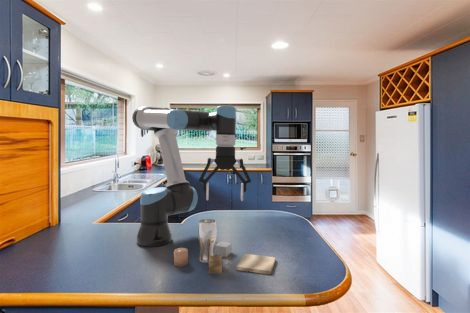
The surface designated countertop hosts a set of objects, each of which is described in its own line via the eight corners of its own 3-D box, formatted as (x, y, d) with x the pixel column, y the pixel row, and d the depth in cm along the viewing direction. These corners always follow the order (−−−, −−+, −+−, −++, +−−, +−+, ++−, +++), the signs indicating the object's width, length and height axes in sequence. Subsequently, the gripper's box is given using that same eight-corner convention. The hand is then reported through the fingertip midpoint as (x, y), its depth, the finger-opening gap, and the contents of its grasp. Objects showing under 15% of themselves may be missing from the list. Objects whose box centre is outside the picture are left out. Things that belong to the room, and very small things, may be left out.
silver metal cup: (199, 264, 105) (199, 224, 104) (196, 257, 112) (196, 219, 111) (218, 262, 107) (218, 222, 106) (214, 255, 114) (214, 217, 113)
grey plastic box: (214, 255, 115) (214, 245, 114) (220, 250, 119) (220, 241, 119) (226, 257, 112) (226, 247, 112) (231, 252, 117) (231, 243, 117)
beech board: (236, 269, 101) (236, 266, 101) (244, 256, 113) (244, 253, 113) (270, 274, 98) (270, 271, 98) (275, 260, 109) (275, 257, 109)
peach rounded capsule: (171, 265, 104) (171, 252, 104) (177, 260, 109) (177, 247, 109) (184, 267, 103) (184, 253, 103) (189, 261, 108) (190, 248, 107)
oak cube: (208, 273, 98) (208, 260, 98) (209, 267, 103) (209, 255, 103) (221, 273, 99) (222, 260, 98) (221, 267, 103) (221, 255, 103)
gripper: (192, 145, 108) (191, 201, 109) (258, 146, 109) (257, 202, 110) (194, 145, 115) (194, 197, 117) (256, 146, 116) (255, 198, 118)
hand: (224, 200), depth 114 cm, fingers open, 13 cm apart
